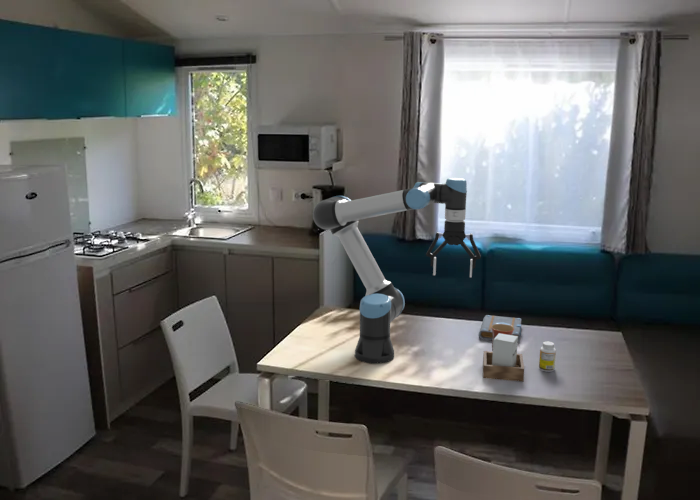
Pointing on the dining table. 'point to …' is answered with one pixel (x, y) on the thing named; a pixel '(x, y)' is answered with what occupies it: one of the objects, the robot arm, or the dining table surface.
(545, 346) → the supplement bottle
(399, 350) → the dining table surface
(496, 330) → the mug
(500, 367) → the tray
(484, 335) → the book
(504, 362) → the supplement box
